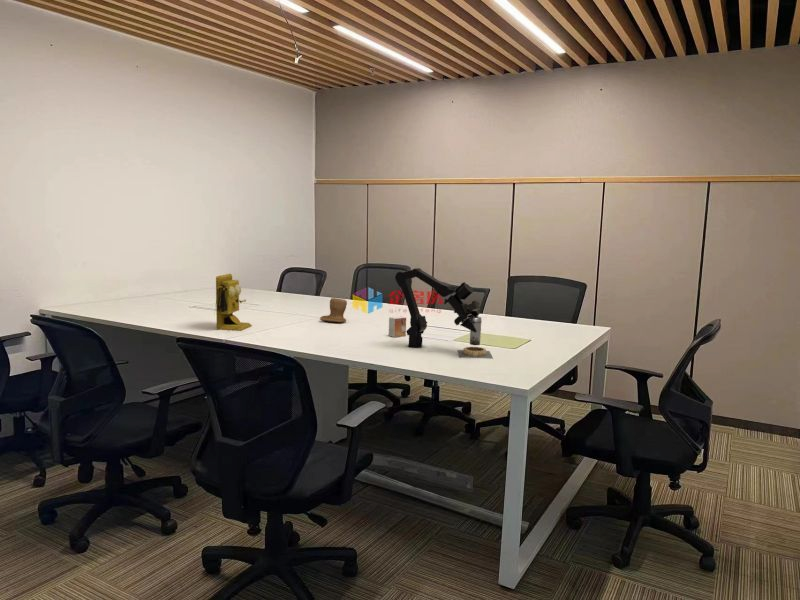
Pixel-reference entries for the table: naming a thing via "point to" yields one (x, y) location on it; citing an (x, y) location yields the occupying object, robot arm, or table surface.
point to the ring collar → (474, 351)
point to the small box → (397, 326)
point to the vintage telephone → (228, 304)
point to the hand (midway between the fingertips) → (478, 331)
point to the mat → (461, 355)
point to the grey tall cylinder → (476, 335)
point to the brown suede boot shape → (336, 311)
